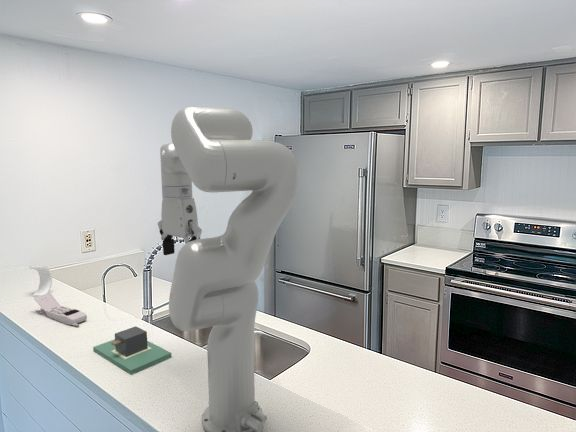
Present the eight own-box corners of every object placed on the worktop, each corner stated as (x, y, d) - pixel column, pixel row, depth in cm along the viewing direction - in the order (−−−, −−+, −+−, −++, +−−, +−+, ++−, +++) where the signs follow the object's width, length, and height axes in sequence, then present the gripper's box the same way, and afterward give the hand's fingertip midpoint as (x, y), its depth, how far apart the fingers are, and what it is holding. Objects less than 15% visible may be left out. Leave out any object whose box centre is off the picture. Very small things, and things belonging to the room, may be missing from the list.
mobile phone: (49, 292, 152) (91, 305, 139) (50, 307, 153) (92, 322, 140) (31, 297, 147) (73, 311, 134) (33, 313, 148) (75, 329, 135)
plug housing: (147, 348, 118) (146, 331, 117) (119, 359, 112) (118, 342, 111) (136, 342, 122) (135, 326, 121) (108, 353, 115) (107, 336, 115)
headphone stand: (32, 297, 163) (29, 266, 162) (42, 291, 169) (39, 262, 168) (43, 297, 163) (41, 267, 161) (53, 292, 169) (50, 262, 167)
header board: (171, 357, 116) (170, 342, 115) (131, 374, 107) (130, 359, 106) (132, 336, 129) (131, 323, 128) (93, 350, 120) (92, 337, 119)
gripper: (210, 193, 106) (212, 259, 109) (169, 189, 117) (172, 249, 120) (186, 195, 100) (188, 265, 103) (145, 191, 111) (148, 254, 114)
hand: (180, 257), depth 111 cm, fingers open, 9 cm apart
